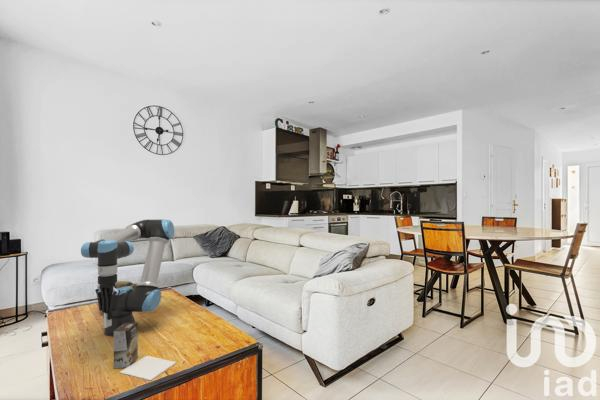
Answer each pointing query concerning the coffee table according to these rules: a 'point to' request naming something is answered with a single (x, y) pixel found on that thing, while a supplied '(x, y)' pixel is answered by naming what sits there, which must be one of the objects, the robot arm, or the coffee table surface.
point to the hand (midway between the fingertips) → (107, 326)
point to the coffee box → (125, 345)
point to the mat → (148, 368)
